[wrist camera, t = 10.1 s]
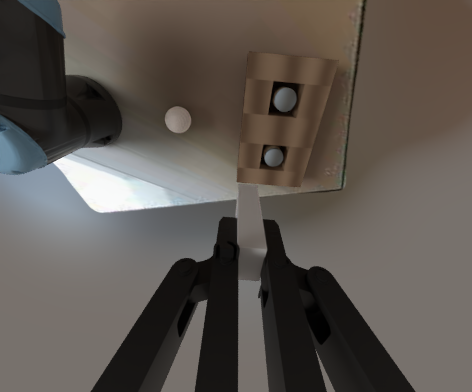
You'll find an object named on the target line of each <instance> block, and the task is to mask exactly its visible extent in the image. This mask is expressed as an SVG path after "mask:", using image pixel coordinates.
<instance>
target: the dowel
mask: <svg viewBox="0 0 472 392" xmlns="http://www.w3.org/2000/svg"><path fill="white" fill-rule="evenodd" d="M262 151H263V155H264V159H265V162H266V164H267V165H269V166H272V167H274V166H278V165H279V164H280V163H281V162H282V161H283V154H282V152H281V150H280V148H279V146H277V145H266V144H265V145H264V146H263V149H262Z"/></svg>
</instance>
